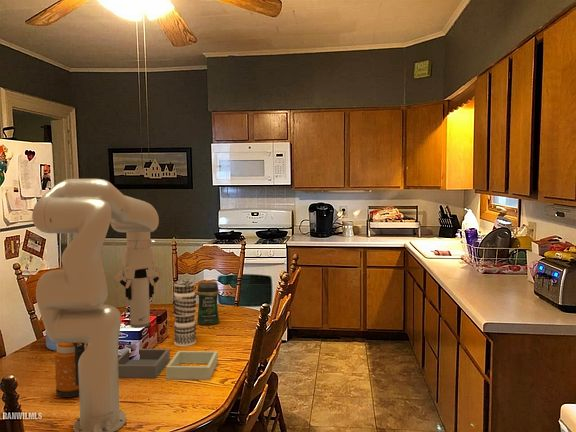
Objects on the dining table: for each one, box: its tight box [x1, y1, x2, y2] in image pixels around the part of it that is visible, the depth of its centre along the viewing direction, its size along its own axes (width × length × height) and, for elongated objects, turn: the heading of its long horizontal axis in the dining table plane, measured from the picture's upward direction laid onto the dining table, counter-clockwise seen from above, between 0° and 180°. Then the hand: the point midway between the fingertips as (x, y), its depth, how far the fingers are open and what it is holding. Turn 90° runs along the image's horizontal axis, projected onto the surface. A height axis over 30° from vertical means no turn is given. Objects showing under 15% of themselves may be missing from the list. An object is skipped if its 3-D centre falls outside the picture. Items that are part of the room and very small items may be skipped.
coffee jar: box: [196, 281, 220, 326], centre depth 201 cm, size 10×8×19 cm
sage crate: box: [165, 350, 219, 381], centre depth 149 cm, size 14×14×4 cm
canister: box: [54, 343, 88, 398], centre depth 132 cm, size 9×11×20 cm
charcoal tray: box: [118, 348, 171, 379], centre depth 151 cm, size 15×15×4 cm
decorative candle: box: [172, 278, 197, 347], centre depth 175 cm, size 9×9×25 cm
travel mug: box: [129, 268, 151, 329], centre depth 149 cm, size 6×7×20 cm
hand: (139, 297), depth 149 cm, fingers closed on travel mug, 6 cm apart
